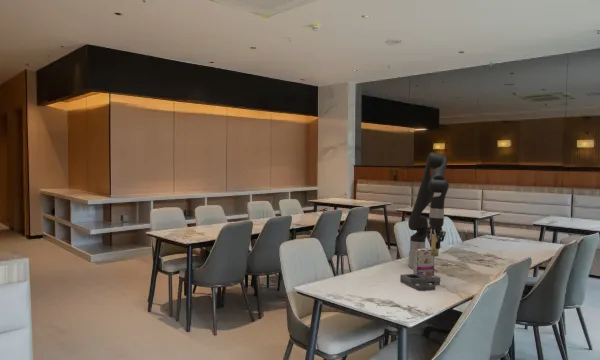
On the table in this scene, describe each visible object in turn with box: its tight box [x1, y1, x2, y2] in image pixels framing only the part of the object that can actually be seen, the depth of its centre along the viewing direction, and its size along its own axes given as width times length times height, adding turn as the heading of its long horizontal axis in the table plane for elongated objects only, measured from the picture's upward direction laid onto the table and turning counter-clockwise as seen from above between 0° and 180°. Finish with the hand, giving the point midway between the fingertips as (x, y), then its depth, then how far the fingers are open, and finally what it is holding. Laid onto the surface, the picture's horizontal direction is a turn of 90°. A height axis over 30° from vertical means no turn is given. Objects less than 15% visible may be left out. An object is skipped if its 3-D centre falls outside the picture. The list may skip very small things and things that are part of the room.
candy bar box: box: [412, 247, 435, 275], centre depth 260 cm, size 11×5×16 cm, turn 105°
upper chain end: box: [399, 272, 441, 286], centre depth 246 cm, size 10×19×5 cm, turn 110°
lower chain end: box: [399, 277, 436, 292], centre depth 240 cm, size 18×10×3 cm, turn 20°
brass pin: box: [430, 233, 440, 258], centre depth 240 cm, size 4×4×12 cm
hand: (434, 247), depth 240 cm, fingers closed on brass pin, 4 cm apart
